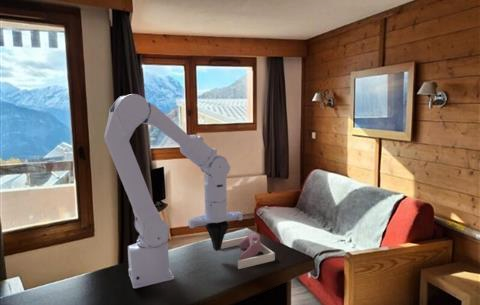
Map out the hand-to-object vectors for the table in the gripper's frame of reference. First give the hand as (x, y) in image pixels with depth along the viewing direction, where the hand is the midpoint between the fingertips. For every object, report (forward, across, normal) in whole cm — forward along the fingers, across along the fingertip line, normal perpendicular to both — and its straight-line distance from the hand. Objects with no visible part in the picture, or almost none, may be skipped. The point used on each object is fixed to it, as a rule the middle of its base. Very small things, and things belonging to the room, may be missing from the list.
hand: (216, 249), depth 91 cm
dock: (+3, -8, 0) cm, 9 cm away
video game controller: (+3, -10, +1) cm, 10 cm away
